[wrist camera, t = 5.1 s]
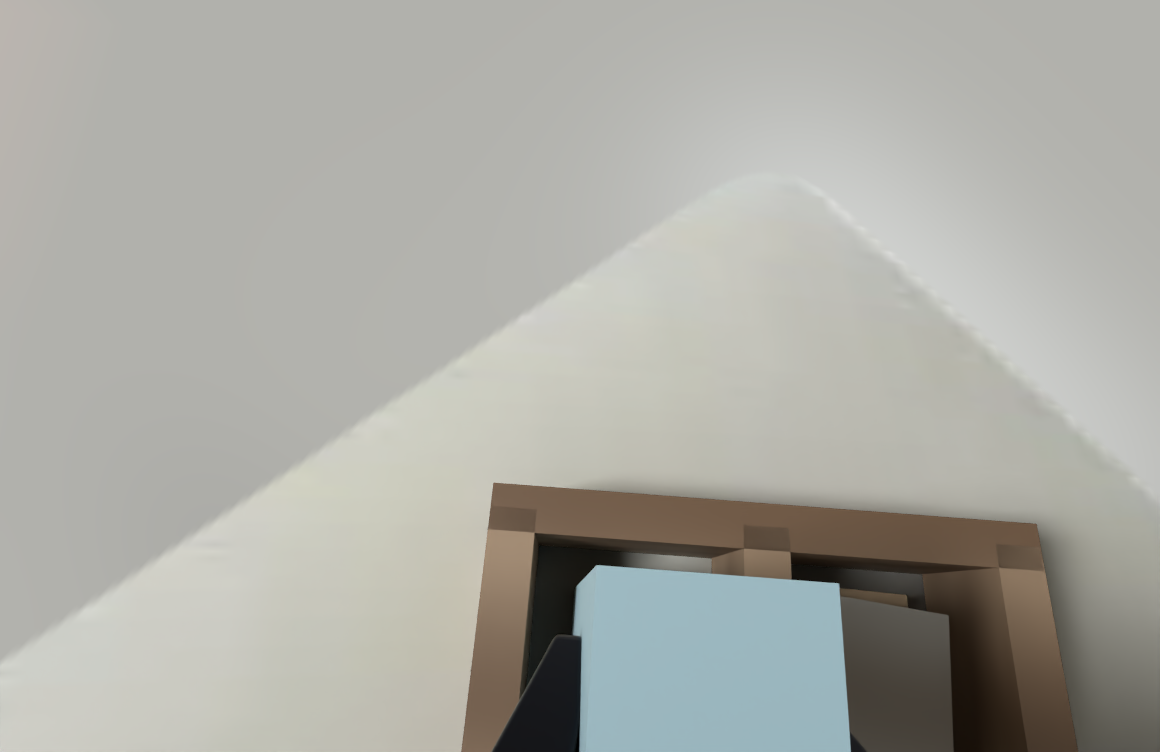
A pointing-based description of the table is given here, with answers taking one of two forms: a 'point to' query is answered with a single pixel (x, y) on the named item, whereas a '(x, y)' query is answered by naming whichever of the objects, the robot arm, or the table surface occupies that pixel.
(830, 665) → the pale blue tall box
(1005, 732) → the rack
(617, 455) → the table surface
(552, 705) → the robot arm
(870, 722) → the offcut upper
